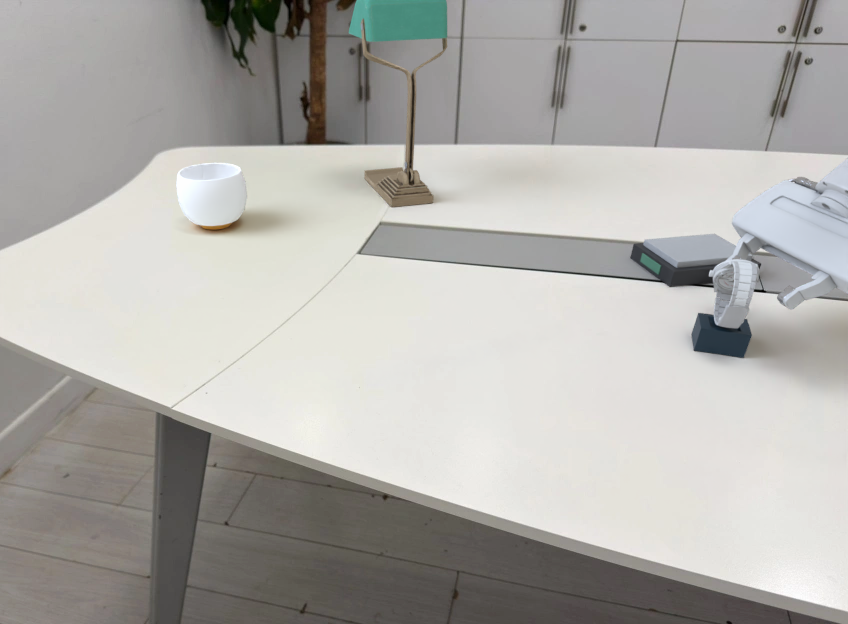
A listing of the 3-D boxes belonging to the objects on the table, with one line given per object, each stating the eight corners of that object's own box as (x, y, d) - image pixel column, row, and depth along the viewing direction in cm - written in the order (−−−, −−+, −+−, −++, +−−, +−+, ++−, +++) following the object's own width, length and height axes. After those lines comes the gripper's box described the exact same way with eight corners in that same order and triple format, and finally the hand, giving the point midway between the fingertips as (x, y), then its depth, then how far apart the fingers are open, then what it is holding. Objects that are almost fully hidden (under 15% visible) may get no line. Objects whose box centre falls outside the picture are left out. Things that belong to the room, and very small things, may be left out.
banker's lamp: (372, 208, 129) (375, -2, 109) (346, 178, 146) (344, -9, 126) (450, 201, 132) (466, -5, 112) (415, 172, 148) (423, -12, 129)
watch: (737, 333, 86) (766, 253, 80) (745, 365, 80) (777, 280, 74) (689, 327, 88) (714, 247, 82) (694, 357, 82) (721, 273, 76)
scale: (710, 250, 109) (716, 230, 107) (756, 278, 100) (764, 257, 98) (628, 257, 107) (633, 237, 105) (668, 286, 98) (674, 265, 96)
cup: (191, 241, 116) (183, 185, 111) (175, 219, 126) (167, 167, 120) (258, 229, 120) (254, 175, 115) (238, 209, 130) (233, 158, 124)
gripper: (783, 156, 82) (688, 238, 86) (934, 209, 65) (808, 308, 69) (802, 190, 85) (710, 268, 89) (951, 249, 68) (830, 342, 72)
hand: (754, 286), depth 79 cm, fingers open, 8 cm apart
